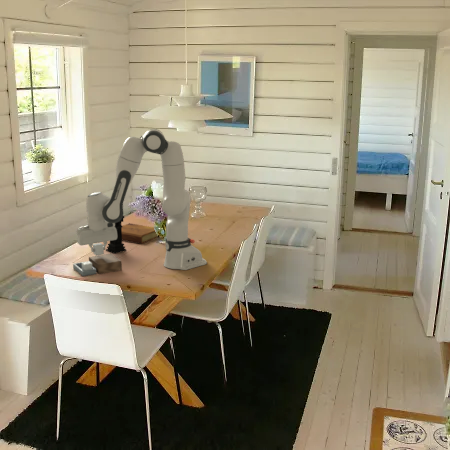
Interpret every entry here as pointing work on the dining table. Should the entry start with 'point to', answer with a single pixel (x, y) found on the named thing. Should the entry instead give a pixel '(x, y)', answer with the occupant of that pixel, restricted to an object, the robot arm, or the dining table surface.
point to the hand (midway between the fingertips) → (98, 250)
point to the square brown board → (106, 263)
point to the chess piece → (117, 240)
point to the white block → (98, 249)
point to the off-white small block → (86, 266)
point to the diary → (138, 233)
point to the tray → (79, 269)
